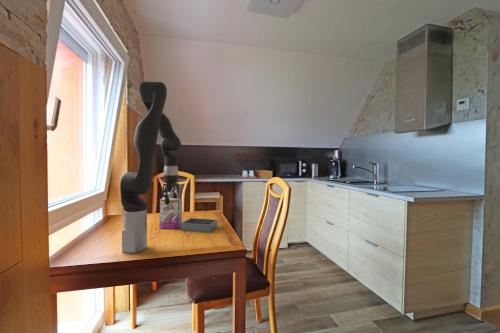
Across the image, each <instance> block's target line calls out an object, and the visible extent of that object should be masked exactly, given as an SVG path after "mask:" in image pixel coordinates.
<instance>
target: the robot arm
mask: <svg viewBox="0 0 500 333" xmlns="http://www.w3.org/2000/svg"><path fill="white" fill-rule="evenodd" d="M138 94H139V97H140V99H141V102H142V103H143V106H145V107H146V110H147V111H148V112H147V113H146V115H145V116H144V117H143V118H141V120H140V121H139V122H138V123H137V125H136V127H135V131H134V132H135V133H134V138H133V146H134V148H135V150H136V153H137V157H138V167H137V172H134V171H133V172H132V171H129V172H125V173H124V174H123V175H122V177H121V178H120V183H119V190H120V203H121V206H122V209H123V211H122V212H123V213H122V214H123V216H122V217H123V218H122V222H123V227H122V229H121V253H126V254H137V253H140V252H144V251H145V250H146V249H147V248H148V204H147V202H146V201H145V200H143V199H142V198H141V196H140V195H142V196H143V195H146V194H148V192H149V191H150V189H151V187H152V180H153V169H154V168H153V166H154V159H155V153H156V148H157V147H156V146H157V142H158V136H160V137H161V138H162V139H161V141H160V148H161V151H162V155H163V159H164V160H163V163H164V164H163V165H164V167H163V182H164V184H165V185H162V186H161V187H162V188H161V189H162V191H161V195H162V198H165V205H169V198H171V196H170V195H172V198H174V199H178V195H179V194H180V183H179V166H178V160H179V159H178V156H177V155H174V154H171V152H170V151H172V152H177V151H179V150H180V149H181V147H182V142H181V140H180V138H179V136H178V135H177V134H176V132H175V131H174V128H173V125H172V123H171V121H170V119H169V118H168V117H167V115H166V114H165V113H164V112H163V110H164V107H165V105H166V104H165V103H166V101H167V96H168V90H167V86H166V84H165V83H163V82H162V81H141V82H140V83H139V85H138Z"/></svg>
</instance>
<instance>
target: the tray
mask: <svg viewBox="0 0 500 333" xmlns="http://www.w3.org/2000/svg"><path fill="white" fill-rule="evenodd" d="M216 228H218V219H212V218H197V217H189V218H188V219H186V220H184V221H182V223H181V228H180V229H181V231H185V232H198V233H209V234H211V233H212V231H214V230H215V229H216Z"/></svg>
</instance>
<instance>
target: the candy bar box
mask: <svg viewBox="0 0 500 333" xmlns="http://www.w3.org/2000/svg"><path fill="white" fill-rule="evenodd" d="M182 211H183V198H177V199H174V198H173V197H172V198H171V197H169V205H165V198H164V197H162V198H160V199H159V229H166V230H179V229H181V223H182V222H183V221H182V220H183V214H182V213H183V212H182Z"/></svg>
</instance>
